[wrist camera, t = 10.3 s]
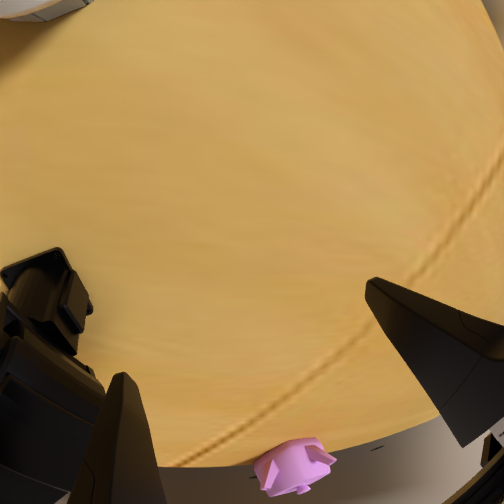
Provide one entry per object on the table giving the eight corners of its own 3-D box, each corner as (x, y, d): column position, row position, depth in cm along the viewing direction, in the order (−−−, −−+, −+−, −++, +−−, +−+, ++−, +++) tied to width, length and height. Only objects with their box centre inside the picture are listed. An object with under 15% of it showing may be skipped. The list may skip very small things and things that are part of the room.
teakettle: (255, 468, 61) (272, 506, 52) (245, 454, 51) (265, 502, 42) (316, 445, 64) (335, 481, 55) (319, 426, 55) (344, 470, 45)
